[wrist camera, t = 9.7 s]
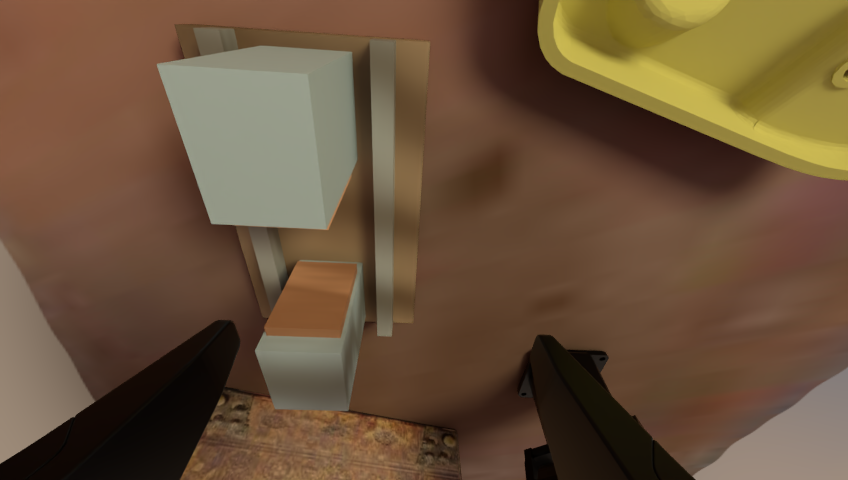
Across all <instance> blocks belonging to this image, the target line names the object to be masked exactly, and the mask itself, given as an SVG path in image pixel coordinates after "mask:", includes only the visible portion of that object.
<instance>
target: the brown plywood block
mask: <svg viewBox="0 0 848 480" xmlns="http://www.w3.org/2000/svg"><path fill="white" fill-rule="evenodd" d="M180 480H462V477H461V467H460V456H459V445H458V434H457V432H456V431H455V430H450V429H445V428H439V427H434V426H429V425H424V424H418V423H413V422H408V421H402V420H397V419H392V418H387V417H381V416H376V415H371V414H365V413H360V412H355V411H350V410H348V411H328V410H288V409H275V407H274V405H273V402H272V399H271V396H270V395H265V394H260V393H254V392H249V391H244V390H238V389H233V388H228V387H224V390H223V392H222V395H221V397H220V399H219V402H218V404H217V406H216V408H215V410H214V412H213V414H212V416H211V418H210V420H209V422H208V424H207V426H206V428H205V430H204V432H203V434H202V436H201V438H200V440H199V442H198V444H197V446H196V448H195V451H194V453H193V455H192V457H191V459H190V461H189V463H188V465H187V467H186V469H185V471H184V473H183V475H182V477H181V479H180Z"/></svg>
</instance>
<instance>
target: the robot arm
mask: <svg viewBox="0 0 848 480" xmlns="http://www.w3.org/2000/svg"><path fill="white" fill-rule="evenodd" d="M239 347H240V338H239V335H238V332H237V329H236V326H235V324H234V322H233V321H231V320H217V321H215V322H213V323H212V324H211V325H209V326H208V327H206V328H205V329H203V330H202V331H200V332H199V333H197V334H196V335H194V336H193V337H191V338H190V339H188V340H187V341H185V342H184V343H182V344H181V345H179V346H178V347H176V348H175V349H173V350H172V351H170V352H169V353H167V354H166V355H164V356H163V357H161V358H160V359H158V360H157V361H155V362H154V363H152V364H151V365H149V366H148V367H146V368H145V369H144V370H142V371H141V372H139V373H138V374H136V375H135V376H133V377H132V378H130V379H129V380H127V381H126V382H124V383H123V384H121V385H120V386H118V387H117V388H115V389H114V390H112V391H111V392H109V393H108V394H106V395H105V396H103V397H102V398H100V399H99V400H97V401H96V402H94V403H93V404H91V405H90V406H89V407H87V408H85V409H84V410H83V411H81V412H80V413H78V414H77V415H76V416H75V417H72V418H70V419H69V420H68V421H66V422H64V423H63V424H62V425H60V426H58V427H57V428H56V429H54V430H53V431H51V432H49V433H48V434H47V435H45V436H44V437H42V438H41V439H39V440H37V441H36V442H34V443H33V444H31V445H30V446H28V447H27V448H25V449H23V450H22V451H20V452H19V453H17V454H15V455H14V456H12V457H11V458H9V459H7V460H6V461H4V462H2V463H1V464H0V480H180V479H181V477H182V475H183V473H184V471H185V469H186V467H187V465H188V463H189V461H190V459H191V457H192V455H193V453H194V451H195V448H196V446H197V444H198V442H199V440H200V438H201V436H202V434H203V432H204V430H205V428H206V426H207V424H208V422H209V420H210V418H211V416H212V414H213V412H214V410H215V408H216V406H217V404H218V402H219V399H220V397H221V395H222V392H223V390H224V387H225V385H226V382H227V379H228V377H229V374H230V371H231V368H232V366H233V363H234V360H235V358H236V355H237V352H238V350H239ZM607 360H608V356H607V354H606V352H603V351H577V350H566V349H565V348H564V347H563V346H562V345H561V344H560V343H559V342H558V341H557V340H556V339H555V338H554V337H553V336H551V335H537V336H536V339H535V342H534V344H533V347H532V350H531V354H530V358H529V361H528V363H527V366H526V369H525V371H524V374H523V377H522V379H521V382H520V385H519V387H518V395H519V396H520V397H532V398H534V401H535V405H536V408H537V412H538V415H539V418H540V422H541V425H542V429H543V432H544V435H545V439H546V442H547V444H546V445H543V446H540V447H537V448H533V449H532V448H529V449H526V450H524V453H525V471H526V480H695V479H694V478H693V477H692V476H691V475H690V474H689V473H688V472H687V471H686V470H685V469H684V468H683V467H682V466H681V465H680V464H679V463H678V462H677V461H676V460H675V459H674V458H672V457H671V456H670V455H669V454H668V453H667V452H666V451H665V450H664V449H663V448H662V446H661V445H660V444H659V443H658V442H657V441H655V440H653V438H652V436H651V435H650V434H649V433H648V432H647V431H646V430H645V429H644V428H643V426H642V425H641V423H640V422H639V420H638V419H637V417H636V416H635V415H634V416H631V415H630V414H629V413H628V412H627V411H626V410H625V409H624V408H623V407H622V406H621V405H620V404H619V403H618V402H617V401H616V400H615V399H614V398H613V397H612V396H611V394H610V392H609V390H608V388H607V386H606V384H605V382H604V380H603V378H602V376H601V374H600V372H601V371H602V369H603V367H604V365H605V364H606V362H607Z"/></svg>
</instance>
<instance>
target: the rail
mask: <svg viewBox="0 0 848 480" xmlns="http://www.w3.org/2000/svg"><path fill="white" fill-rule="evenodd" d="M175 28H176V31H177V35H178V38H179V41H180V45H181V48H182V51H183V55H184V58H185V59H188V58H194V57H199V56H205V55H211V54H216V53H222V52H228V51H233V50H239V49H244V48H250V47H256V46H275V47H289V48H303V49H318V50H332V51H346V52H352V59H353V79H354V98H355V118H356V137H357V157H358V160H357V162H356V164H355V167H354V169H353V171H352V173H351V176H352V177H351V179H350V181H349V184H348V186H347V188H346V191H345V193H344V195H343V197H342V200H341V202H340V204H339V207H338V209H337V211H336V214H335V216H334V218H333V220H332V223H331V225H330V227H329V230H318V229H297V228H276V227H255V226H235V227H236V231H237V234H238V237H239V241H240V244H241V247H242V251H243V254H244V257H245V261H246V264H247V267H248V271H249V274H250V277H251V281H252V284H253V287H254V291H255V294H256V297H257V300H258V304H259V307H260V310H261V314H262V317H263V318H268V320H267V322H266V324H265V326H264V329H265V331H264V333H263V335H262V337H261V339H260V341H259V343H258V345H257V347H256V349H255V353H256V356H257V359H258V361H259V364H260V367H261V370H262V373H263V376H264V379H265V382H266V384H267V387H268V390H269V393H270V396H271V399H272V402H273V405H274V407H275V409H288V410H328V411H348V409H349V404H350V398H351V393H352V388H353V382H354V377H355V371H356V366H357V360H358V355H359V350H360V344H361V339H362V333H363V328H364V323H365V321H368V322H377V335H378V336H392V327H393V322H396V323H413V317H414V301H415V284H416V268H417V251H418V235H419V218H420V202H421V185H422V169H423V152H424V136H425V119H426V103H427V86H428V70H429V53H430V41H426V40H412V39H397V38H383V37H368V36H354V35H340V34H325V33H311V32H297V31H282V30H268V29H253V28H239V27H225V26H210V25H196V24H178V25H175Z"/></svg>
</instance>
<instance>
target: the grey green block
mask: <svg viewBox="0 0 848 480" xmlns="http://www.w3.org/2000/svg"><path fill="white" fill-rule="evenodd" d="M157 67H158V70H159V73H160V76H161V78H162V81H163V84H164V87H165V90H166V93H167V96H168V99H169V102H170V105H171V108H172V110H173V113H174V116H175V119H176V122H177V125H178V128H179V131H180V134H181V137H182V140H183V142H184V145H185V148H186V151H187V154H188V157H189V160H190V163H191V166H192V169H193V172H194V174H195V177H196V180H197V183H198V186H199V189H200V192H201V195H202V198H203V201H204V204H205V206H206V209H207V212H208V215H209V218H210V221H211V224H223V225H235V226H255V227H276V228H297V229H318V230H329V227H330V225H331V223H332V220H333V218H334V216H335V214H336V211H337V209H338V207H339V204H340V202H341V200H342V197H343V195H344V193H345V191H346V188H347V186H348V184H349V181H350V179H351V177H352V176H351V173H352V171H353V169H354V167H355V164H356V162H357V160H358V157H357V137H356V118H355V98H354V79H353V59H352V52H346V51H332V50H318V49H303V48H289V47H275V46H256V47H250V48H244V49H239V50H233V51H228V52H222V53H216V54H211V55H205V56H199V57H194V58H188V59H182V60H177V61H171V62H165V63H160V64H157Z"/></svg>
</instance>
